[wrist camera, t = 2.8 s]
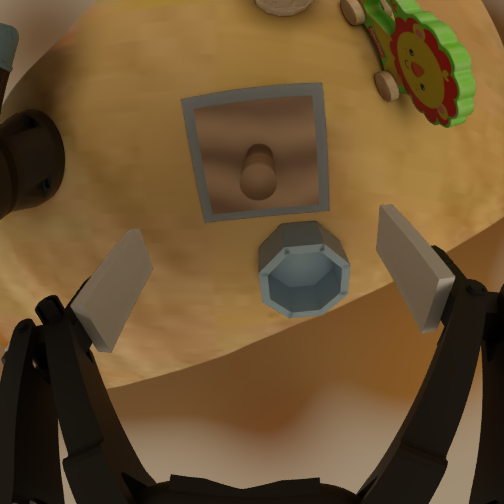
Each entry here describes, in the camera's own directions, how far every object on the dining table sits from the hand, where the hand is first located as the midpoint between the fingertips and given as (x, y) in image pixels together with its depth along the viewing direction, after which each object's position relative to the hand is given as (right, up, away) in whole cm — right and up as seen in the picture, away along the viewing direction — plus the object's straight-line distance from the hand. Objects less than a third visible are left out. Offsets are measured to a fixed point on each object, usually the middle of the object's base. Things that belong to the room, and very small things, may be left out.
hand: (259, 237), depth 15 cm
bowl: (+6, -2, +25) cm, 26 cm away
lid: (0, +10, +17) cm, 20 cm away
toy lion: (+15, +23, +10) cm, 29 cm away
